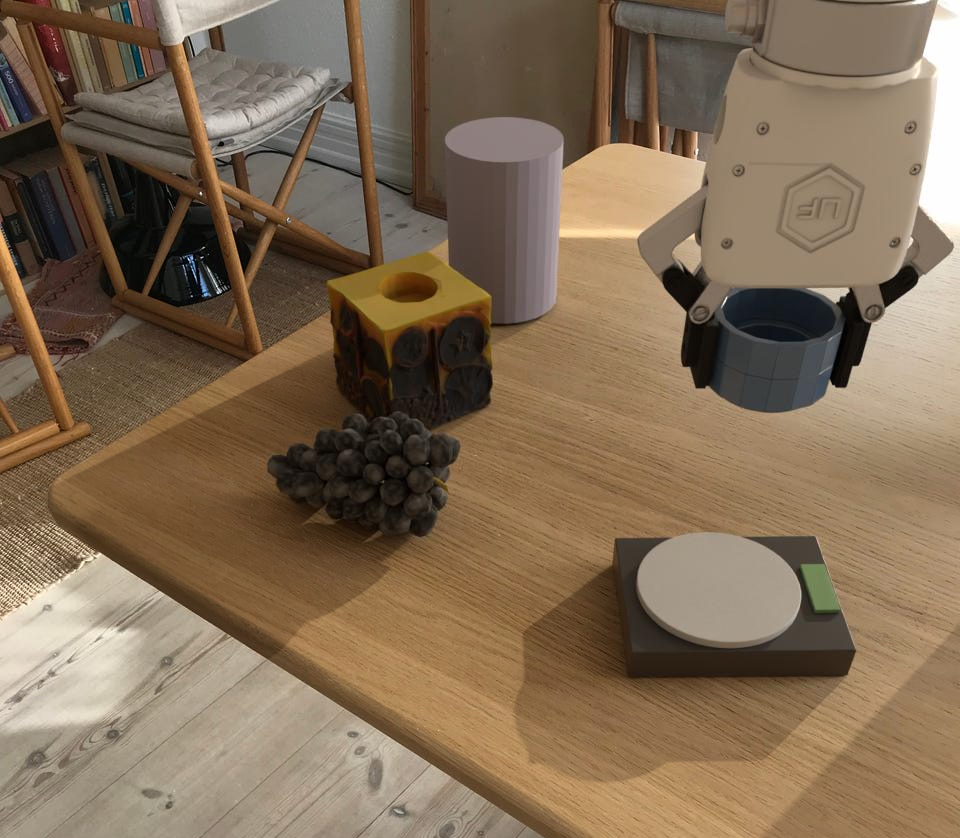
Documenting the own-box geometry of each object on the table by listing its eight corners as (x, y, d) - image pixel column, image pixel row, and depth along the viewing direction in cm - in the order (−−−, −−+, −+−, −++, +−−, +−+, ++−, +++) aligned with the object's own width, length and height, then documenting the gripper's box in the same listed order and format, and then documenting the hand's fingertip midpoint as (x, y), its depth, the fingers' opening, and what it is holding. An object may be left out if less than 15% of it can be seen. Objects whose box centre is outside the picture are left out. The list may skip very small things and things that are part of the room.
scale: (809, 561, 74) (818, 528, 72) (847, 676, 66) (859, 643, 64) (612, 563, 74) (615, 530, 72) (628, 678, 66) (632, 645, 64)
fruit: (237, 405, 72) (440, 440, 68) (293, 380, 79) (480, 410, 75) (241, 522, 76) (434, 561, 72) (294, 489, 83) (472, 522, 79)
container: (501, 265, 106) (501, 108, 95) (578, 299, 101) (588, 137, 90) (427, 301, 101) (420, 139, 90) (505, 338, 96) (506, 172, 85)
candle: (391, 446, 84) (382, 334, 77) (333, 389, 90) (319, 280, 83) (495, 406, 88) (496, 296, 81) (433, 355, 94) (428, 247, 87)
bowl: (810, 352, 62) (828, 282, 59) (838, 419, 57) (859, 345, 54) (693, 353, 62) (705, 282, 59) (711, 419, 57) (725, 346, 54)
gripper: (657, 55, 44) (619, 413, 57) (1067, 53, 44) (938, 411, 57) (638, 4, 49) (607, 342, 62) (1005, 2, 49) (899, 341, 62)
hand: (766, 373), depth 59 cm, fingers closed on bowl, 7 cm apart
